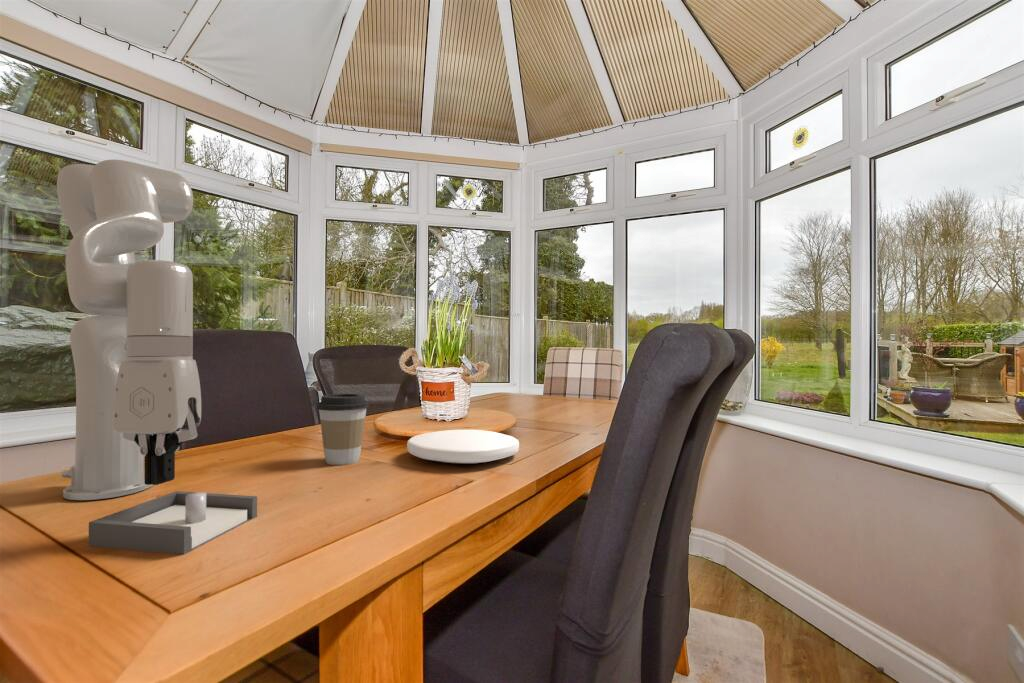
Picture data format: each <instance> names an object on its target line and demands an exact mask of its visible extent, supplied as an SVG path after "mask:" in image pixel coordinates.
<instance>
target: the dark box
mask: <svg viewBox="0 0 1024 683" xmlns="http://www.w3.org/2000/svg"><path fill="white" fill-rule="evenodd" d="M197 492H198V491H197ZM197 492H196V491H180V490H176V491H175V490H174V491H173V492H169V493H167V494H164V495H161V496H159V497H155V498H152V499H150V500H147V501H144V502H143V503H139V504H136V505H133V506H131V507H128V508H124V509H122V510H120V511H117V512H113V513H111V514H108V515H105V516H102V517H100V518H97V519H94V520H91V521H89V522H88V545H87V546H88V547H92V548H101V549H102V548H105V549H106V548H107V549H115V550H127V551H137V552H138V551H139V552H148V553H149V552H150V553H161V554H173V555H181V556H182V555H187V554H188V553H190V552H192V551H193V550H195V549H198V548H200V547H202V546H204V545H205V544H208V543H209V542H211V541H213V540H215V539H217V538H219V537H221V536H222V535H225V534H227V533H228V532H230V531H233V530H234V529H236V528H238V527H240V526H242V525H244V524H245V523H248V522H250V521H251V520H253V519H256V518H257V517H258V496H257V495H256V496H255V495H241V494H227V493H210V492H205V493H206V507H214V508H228V509H243V510H247V520H246V521H244V522H242V523H240V524H238V525H237V526H235V527H233V528H231V529H229V530H227V531H225V532H223V533H221V534H219V535H217V536H215V537H213V538H211V539H209V540H207V541H206V542H204V543H202V544H200V545H198V546H196V547H194V548H192V549H191V527H187V526H174V525H161V524H148V523H135V522H132V521H135V520H138V519H140V518H143V517H145V516H148V515H150V514H153V513H156V512H158V511H161V510H163V509H166V508H168V507H171V506H174V505H185V502H186V495H188V494H191V493H197Z"/></svg>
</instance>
